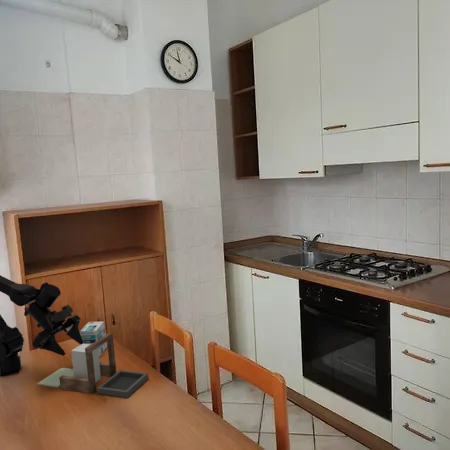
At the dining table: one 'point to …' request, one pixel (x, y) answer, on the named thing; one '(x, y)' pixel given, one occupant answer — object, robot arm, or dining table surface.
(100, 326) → the light bulb box
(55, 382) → the pad
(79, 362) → the block
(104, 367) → the wooden gate frame
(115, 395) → the box
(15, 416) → the dining table surface
